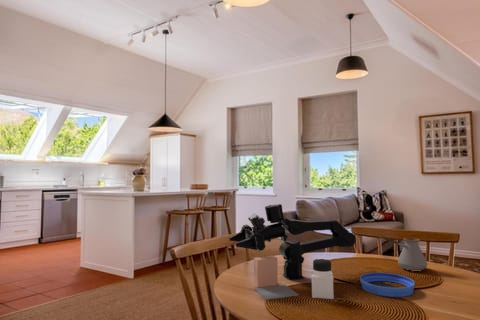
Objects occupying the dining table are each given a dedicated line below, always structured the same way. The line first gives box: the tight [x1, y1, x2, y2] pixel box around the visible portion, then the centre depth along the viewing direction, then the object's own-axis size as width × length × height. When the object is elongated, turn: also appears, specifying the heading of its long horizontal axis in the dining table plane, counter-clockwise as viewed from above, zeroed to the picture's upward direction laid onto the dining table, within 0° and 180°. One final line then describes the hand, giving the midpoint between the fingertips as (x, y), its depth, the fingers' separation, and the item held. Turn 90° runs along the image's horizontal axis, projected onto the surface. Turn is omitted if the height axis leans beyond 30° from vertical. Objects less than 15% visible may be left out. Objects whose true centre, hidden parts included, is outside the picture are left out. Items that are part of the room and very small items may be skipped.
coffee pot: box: [378, 235, 428, 270], centre depth 147 cm, size 21×12×15 cm, turn 104°
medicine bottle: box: [311, 258, 335, 300], centre depth 118 cm, size 7×7×12 cm
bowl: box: [359, 272, 416, 298], centre depth 124 cm, size 18×18×4 cm
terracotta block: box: [253, 255, 279, 288], centre depth 130 cm, size 8×4×10 cm, turn 108°
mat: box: [254, 284, 300, 301], centre depth 121 cm, size 12×11×1 cm
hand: (232, 242), depth 133 cm, fingers open, 9 cm apart
